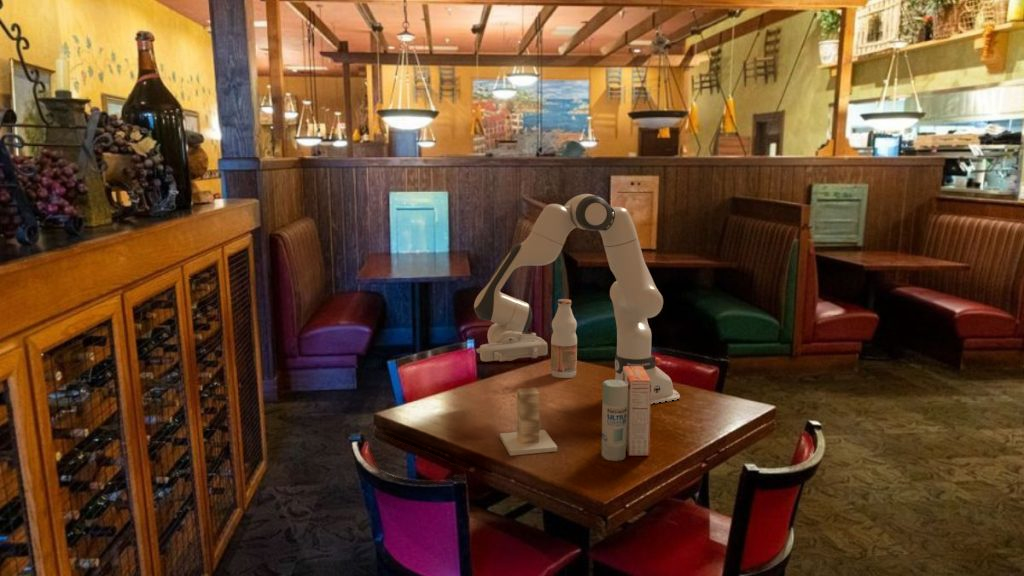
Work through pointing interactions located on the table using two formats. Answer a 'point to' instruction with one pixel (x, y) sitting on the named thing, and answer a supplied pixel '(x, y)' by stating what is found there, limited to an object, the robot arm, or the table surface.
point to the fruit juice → (564, 342)
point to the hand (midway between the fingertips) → (519, 357)
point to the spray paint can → (614, 419)
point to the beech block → (528, 415)
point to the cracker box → (637, 410)
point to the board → (518, 449)
